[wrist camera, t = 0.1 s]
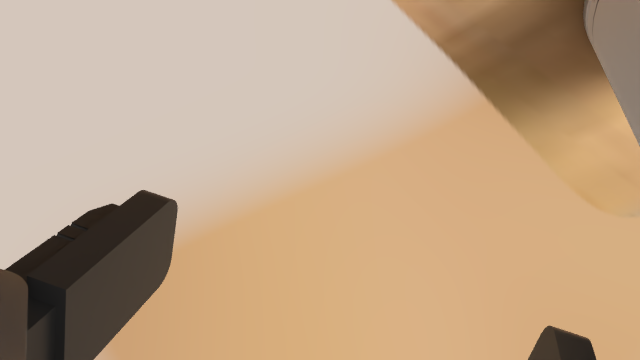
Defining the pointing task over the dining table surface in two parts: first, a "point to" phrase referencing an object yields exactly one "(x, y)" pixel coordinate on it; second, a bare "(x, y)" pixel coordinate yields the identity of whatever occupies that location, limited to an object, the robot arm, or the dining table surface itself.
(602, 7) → the travel mug
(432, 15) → the dining table surface
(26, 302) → the robot arm
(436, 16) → the dining table surface
